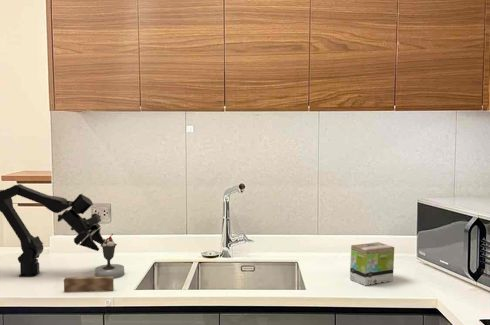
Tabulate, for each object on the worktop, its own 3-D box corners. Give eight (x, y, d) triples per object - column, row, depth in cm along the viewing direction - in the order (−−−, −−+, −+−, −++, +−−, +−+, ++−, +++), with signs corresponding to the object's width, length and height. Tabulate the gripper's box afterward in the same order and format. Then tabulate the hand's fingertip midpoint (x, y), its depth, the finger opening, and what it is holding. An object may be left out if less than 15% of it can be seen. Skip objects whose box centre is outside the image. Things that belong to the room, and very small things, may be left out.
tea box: (365, 286, 189) (366, 250, 188) (349, 279, 198) (350, 244, 197) (394, 281, 196) (394, 246, 195) (376, 275, 204) (377, 241, 204)
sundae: (116, 269, 199) (116, 234, 199) (100, 270, 198) (99, 235, 197) (117, 265, 206) (117, 231, 205) (101, 266, 204) (101, 231, 204)
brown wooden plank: (64, 292, 180) (63, 279, 180) (65, 290, 182) (65, 277, 182) (112, 290, 182) (112, 278, 182) (113, 289, 184) (113, 276, 184)
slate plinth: (92, 279, 196) (91, 272, 196) (98, 271, 208) (98, 264, 208) (121, 278, 197) (121, 271, 197) (126, 270, 209) (126, 263, 209)
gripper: (81, 211, 191) (109, 239, 192) (95, 204, 210) (120, 230, 211) (62, 231, 192) (89, 258, 193) (78, 222, 210) (103, 247, 211)
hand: (101, 247), depth 202 cm, fingers open, 9 cm apart
